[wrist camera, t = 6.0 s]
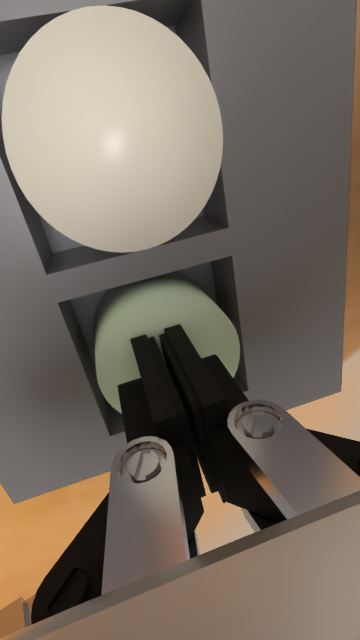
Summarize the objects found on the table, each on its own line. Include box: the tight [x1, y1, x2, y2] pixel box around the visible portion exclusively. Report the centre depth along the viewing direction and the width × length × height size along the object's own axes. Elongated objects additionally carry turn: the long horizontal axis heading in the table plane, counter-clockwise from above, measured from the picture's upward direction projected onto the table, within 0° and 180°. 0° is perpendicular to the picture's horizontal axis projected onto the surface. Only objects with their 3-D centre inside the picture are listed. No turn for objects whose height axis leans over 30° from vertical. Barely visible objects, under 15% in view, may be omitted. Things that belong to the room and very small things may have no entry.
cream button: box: [2, 5, 223, 253], centre depth 9 cm, size 5×5×3 cm
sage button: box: [93, 271, 240, 414], centre depth 13 cm, size 5×5×3 cm
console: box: [0, 0, 357, 504], centre depth 11 cm, size 14×22×4 cm, turn 11°
